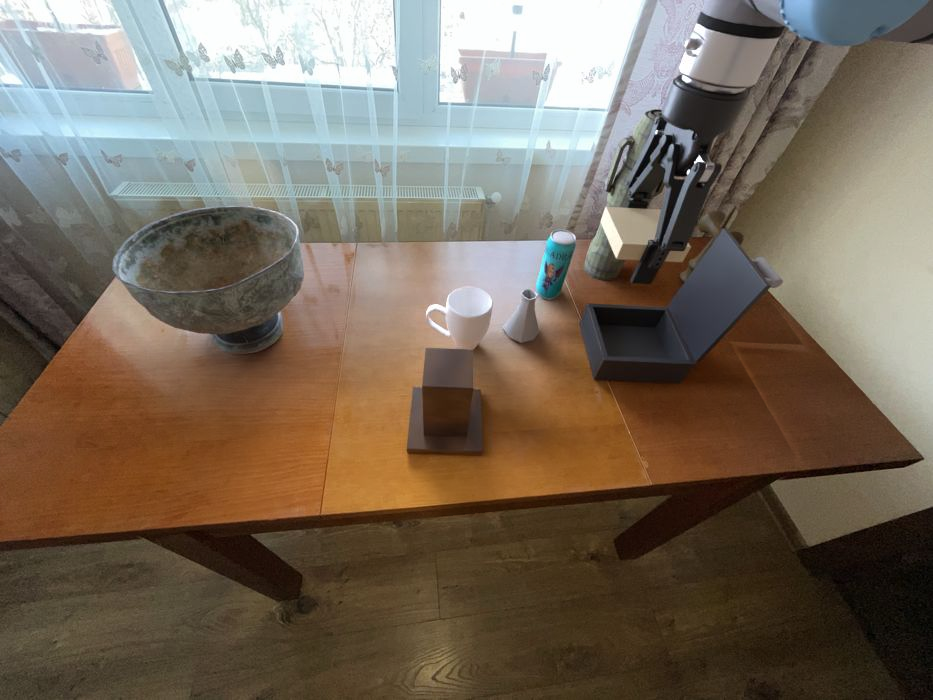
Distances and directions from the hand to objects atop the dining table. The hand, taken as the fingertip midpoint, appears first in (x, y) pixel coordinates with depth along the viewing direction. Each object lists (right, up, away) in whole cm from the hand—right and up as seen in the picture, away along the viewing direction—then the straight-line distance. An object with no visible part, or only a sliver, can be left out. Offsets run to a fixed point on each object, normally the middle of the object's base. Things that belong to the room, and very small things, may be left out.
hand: (630, 260), depth 58 cm
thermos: (+9, +7, +41) cm, 43 cm away
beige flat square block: (0, +2, -3) cm, 3 cm away
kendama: (+31, +4, +40) cm, 51 cm away
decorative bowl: (-67, -9, +21) cm, 70 cm away
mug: (-26, -12, +22) cm, 36 cm away
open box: (+9, -13, +23) cm, 28 cm away
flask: (-13, -9, +25) cm, 30 cm away
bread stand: (-27, -25, +10) cm, 39 cm away
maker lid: (+19, -4, +12) cm, 23 cm away
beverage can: (-5, 0, +34) cm, 34 cm away
